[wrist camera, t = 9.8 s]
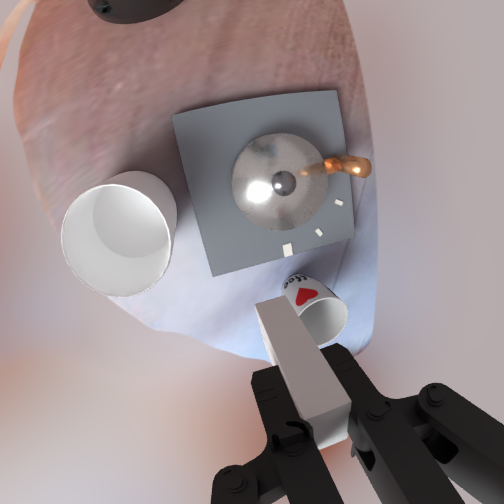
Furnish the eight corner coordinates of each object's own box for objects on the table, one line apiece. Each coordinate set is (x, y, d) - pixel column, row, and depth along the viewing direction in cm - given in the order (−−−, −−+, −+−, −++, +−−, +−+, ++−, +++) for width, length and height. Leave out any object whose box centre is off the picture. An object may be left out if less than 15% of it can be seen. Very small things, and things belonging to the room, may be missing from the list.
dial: (245, 237, 37) (256, 256, 31) (217, 149, 32) (223, 150, 26) (352, 201, 38) (378, 212, 32) (334, 118, 33) (361, 116, 28)
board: (172, 117, 32) (170, 115, 30) (329, 92, 34) (336, 89, 32) (211, 270, 40) (213, 277, 38) (348, 232, 43) (355, 237, 41)
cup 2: (322, 263, 44) (353, 294, 35) (315, 307, 47) (341, 342, 38) (273, 266, 42) (296, 300, 33) (270, 312, 45) (289, 351, 36)
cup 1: (86, 237, 35) (52, 274, 24) (111, 158, 32) (77, 165, 21) (160, 266, 39) (151, 313, 28) (191, 189, 36) (191, 210, 25)
